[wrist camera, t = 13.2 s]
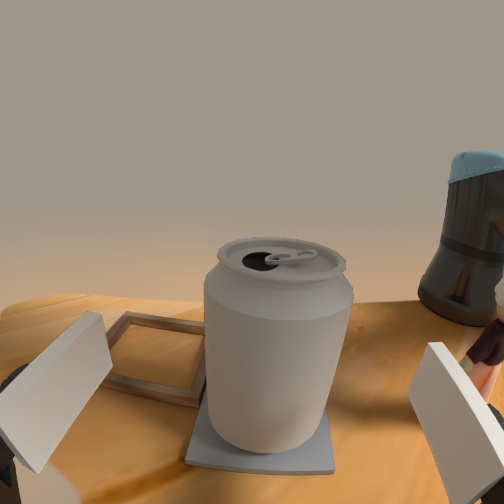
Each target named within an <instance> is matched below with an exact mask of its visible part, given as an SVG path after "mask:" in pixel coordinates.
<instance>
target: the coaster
mask: <svg viewBox="0 0 504 504" xmlns="http://www.w3.org/2000/svg"><path fill="white" fill-rule="evenodd" d="M185 463H186V464H188V465H193V466H199V467H205V468H211V469H218V470H226V471H234V472H244V473H256V474H273V475H322V474H333V473H334V471H335V463H334V456H333V449H332V442H331V435H330V429H329V422H328V416H327V410H326V405H325V408H324V411H323V414H322V417H321V420H320V423H319V426H318V427H317V429H316V431H315V432H314V434H313V435H312V437H311V438H309V439H308V440H307V441H305V442H304V443H302V444H301V445H300V446H298V447H296V448H293V449H290V450H287V451H283V452H280V453H256V452H252V451H247V450H243V449H240V448H238V447H236V446H234V445H233V444H231V443H229V442H227V441H226V440H224V439H223V438H222V437H221V436H220V435H219V434H218V432H217V431H216V430H215V429H214V428H213V426H212V423H211V420H210V417H209V415H208V399H207V386H206V389H205V392H204V396H203V399H202V403H201V406H200V409H199V413H198V416H197V420H196V423H195V426H194V430H193V433H192V437H191V440H190V443H189V447H188V450H187V454H186V457H185Z"/></svg>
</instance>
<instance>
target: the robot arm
mask: <svg viewBox="0 0 504 504" xmlns="http://www.w3.org/2000/svg"><path fill="white" fill-rule="evenodd" d="M448 185H449V190H448V199H447V206H446V212H445V218H444V224H443V229H442V234H441V240H440V245H439V248H438V250H437V252H436V254H435V256H434V258H433V259H432V261H431V263H430V265H429V266H428V268H427V270H426V272H425V274H424V275H423V276H422V278H421V281H420V285H419V288H418V297H419V299H420V300H421V301H422V302H423V303H424V304H425V305H426V306H427V307H428V308H430V309H431V310H433V311H434V312H436V313H438V314H439V315H441V316H443V317H446V318H448V319H450V320H453V321H456V322H459V323H462V324H467V325H472V326H487V325H488V324H489V323H491V322H492V321H494V320H495V319H497V318H498V315H497V302H496V299H495V295H496V293H495V286H496V285H497V284H498V283H499V282H500V280H501V279H502V278H504V154H503V153H497V152H487V151H470V152H463V153H460V154H458V155H456V156H455V157H454V158H453V161H452V165H451V172H450V179H449V181H448ZM112 367H113V364H112V360H111V356H110V352H109V348H108V343H107V339H106V334H105V329H104V324H103V319H102V314H98V313H94V312H89V311H87V312H85V313H84V314H83V315H82V316H81V317H80V318H79V319H78V320H76V321H75V322H74V323H73V324H72V325H71V326H70V327H69V328H68V329H66V330H65V331H64V332H63V333H62V334H61V335H60V336H59V337H58V338H57V339H56V340H54V341H53V342H52V343H51V344H50V345H49V346H48V347H47V348H46V349H45V350H44V351H43V352H42V353H41V354H40V355H39V356H37V357H36V358H35V359H34V360H33V361H32V362H31V363H30V364H25V365H23V366H21V367H19V368H17V369H16V370H15V371H14V372H12V373H11V374H10V375H9V376H8V379H5V380H4V381H3V382H2V383H1V386H0V504H21V499H20V494H19V488H18V482H17V476H16V468H15V464H14V462H13V460H12V459H13V458H14V456H16V457H17V459H18V460H19V461H20V462H21V463H22V465H23V466H25V467H27V468H28V469H30V470H31V471H33V472H34V473H36V474H38V475H39V473H40V472H41V470H42V469H43V467H44V466H45V464H46V462H47V461H48V459H49V458H50V456H51V455H52V453H53V452H54V450H55V449H56V447H57V446H58V444H59V443H60V441H61V440H62V438H63V437H64V435H65V434H66V432H67V431H68V429H69V428H70V426H71V425H72V424H73V422H74V421H75V419H76V418H77V416H78V415H79V413H80V412H81V411H82V409H83V408H84V406H85V405H86V403H87V402H88V401H89V399H90V398H91V396H92V395H93V394H94V392H95V391H96V389H97V388H98V387H99V385H100V384H101V382H102V381H103V380H104V378H105V377H106V376H107V374H108V373H109V371H110V370H111V369H112ZM406 393H407V395H408V398H409V400H410V402H411V404H412V406H413V409H414V411H415V413H416V416H417V418H418V420H419V422H420V425H421V427H422V430H423V432H424V434H425V437H426V439H427V442H428V444H429V447H430V449H431V452H432V454H433V457H434V459H435V462H436V465H437V467H438V470H439V473H440V476H441V478H442V481H443V484H444V487H445V490H446V493H447V496H448V499H449V502H450V504H474V503H475V502H476V501H477V500H479V499H480V498H481V501H482V503H481V504H504V419H503V417H502V416H501V414H500V413H499V411H498V410H497V409H495V408H494V407H493V406H492V405H491V404H486V402H485V401H484V399H483V398H482V396H481V395H480V393H479V392H478V390H477V389H476V387H475V386H474V384H473V383H472V382H471V380H470V379H469V377H468V376H467V375H466V373H465V372H464V370H463V369H462V368H461V366H460V365H459V363H458V362H457V361H456V359H455V358H454V357H453V355H452V354H451V353H450V351H449V350H448V349H447V347H446V346H445V345H444V343H443V342H430V343H428V344H427V347H426V349H425V352H424V354H423V356H422V359H421V361H420V364H419V366H418V368H417V371H416V373H415V375H414V377H413V379H412V382H411V384H410V386H409V388H408V390H407V392H406Z"/></svg>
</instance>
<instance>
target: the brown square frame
mask: <svg viewBox="0 0 504 504" xmlns="http://www.w3.org/2000/svg"><path fill="white" fill-rule="evenodd" d="M130 324H135V325H141V326H147V327H153V328H159V329H165V330H171V331H178V332H185V333H192V334H200V335H205V329H204V322H196V321H189V320H181V319H174V318H167V317H160V316H154V315H147V314H141V313H135V312H129V311H126V312H125V313H124V314H123V315H122V316H121V318H120V319H119V320H118V321H117V322H116V323H115V324H114V325H113V326H112V328H111V329H110V330H109V331H108V332H107V333H106V339H107V343H108V348H109V350H110V349H111V348H112V346H113V345H114V344H115V343H116V341H117V340H118V339H119V338H120V336H121V335H122V334H123V333H124V332H125V330H126V329H127V328H128V327H129V325H130ZM206 383H207V381H206V358H205V350H204V352H203V355H202V358H201V361H200V363H199V366H198V369H197V372H196V375H195V377H194V380H193V383H192V386H191V389H190V390H187V389H181V388H176V387H170V386H165V385H160V384H155V383H151V382H146V381H142V380H137V379H133V378H129V377H125V376H121V375H117V374H113V373H110V372H109V373H108V374H107V376H106V377H105V378H104V380H103V381H102V382H101V384H100V385H102V386H105V387H108V388H112V389H115V390H119V391H122V392H126V393H130V394H134V395H138V396H142V397H146V398H150V399H155V400H159V401H164V402H169V403H174V404H179V405H185V406H190V407H196V408H199V406H200V403H201V400H202V396H203V393H204V390H205V386H206Z"/></svg>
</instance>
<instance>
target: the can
mask: <svg viewBox="0 0 504 504" xmlns="http://www.w3.org/2000/svg"><path fill="white" fill-rule="evenodd" d="M217 258H218V259H219V261H220V262H219V263H218V264H217V265H216V266H215V267H214V268H213V269H212V270H211V271H210V272H209V273H208V274H207V275H206V278H205V282H204V329H205V358H206V381H207V399H208V415H209V417H210V420H211V423H212V426H213V428H214V429H215V430H216V431H217V432H218V434H219V435H220V436H221V437H222V438H223V439H224V440H226V441H227V442H229V443H231V444H233V445H234V446H236V447H238V448H240V449H243V450H247V451H252V452H256V453H280V452H283V451H287V450H290V449H293V448H296V447H298V446H300V445H301V444H302V443H304V442H305V441H307V440H308V439H309V438H311V437H312V435H313V434H314V432H315V431H316V429H317V427H318V426H319V423H320V420H321V417H322V414H323V411H324V408H325V405H326V402H327V399H328V396H329V392H330V389H331V386H332V382H333V379H334V376H335V372H336V368H337V365H338V361H339V357H340V354H341V350H342V346H343V342H344V338H345V334H346V330H347V326H348V321H349V317H350V312H351V308H352V303H353V288H352V287H351V285H350V284H349V282H348V281H347V279H346V278H345V276H344V275H343V273H342V272H343V271H344V270H345V269H346V262H345V260H344V258H343V257H342V256H341V255H340V254H339V253H338V252H335V251H334V250H332V249H330V248H328V247H325V246H322V245H319V244H316V243H312V242H308V241H303V240H298V239H289V238H280V237H252V238H245V239H239V240H235V241H232V242H229V243H227V244H225V245H224V246H222V247H221V248H220V249H219V250H218V255H217Z"/></svg>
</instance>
